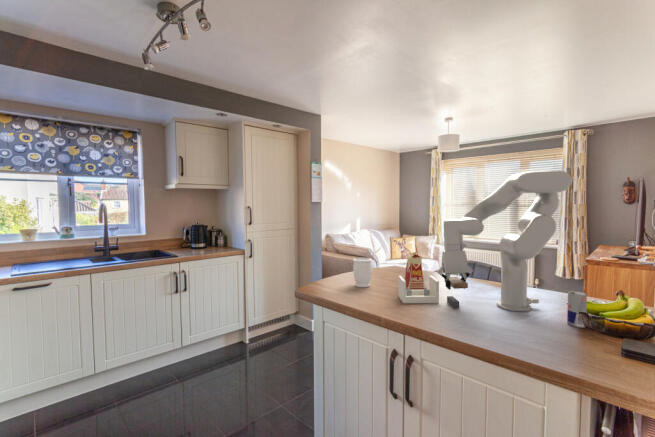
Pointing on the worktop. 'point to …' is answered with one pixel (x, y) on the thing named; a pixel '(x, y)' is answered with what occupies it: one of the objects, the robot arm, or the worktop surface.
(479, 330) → the worktop surface
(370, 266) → the jar
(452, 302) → the rubber block
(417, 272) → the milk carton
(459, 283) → the board
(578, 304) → the energy drink
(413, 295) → the peg frame
